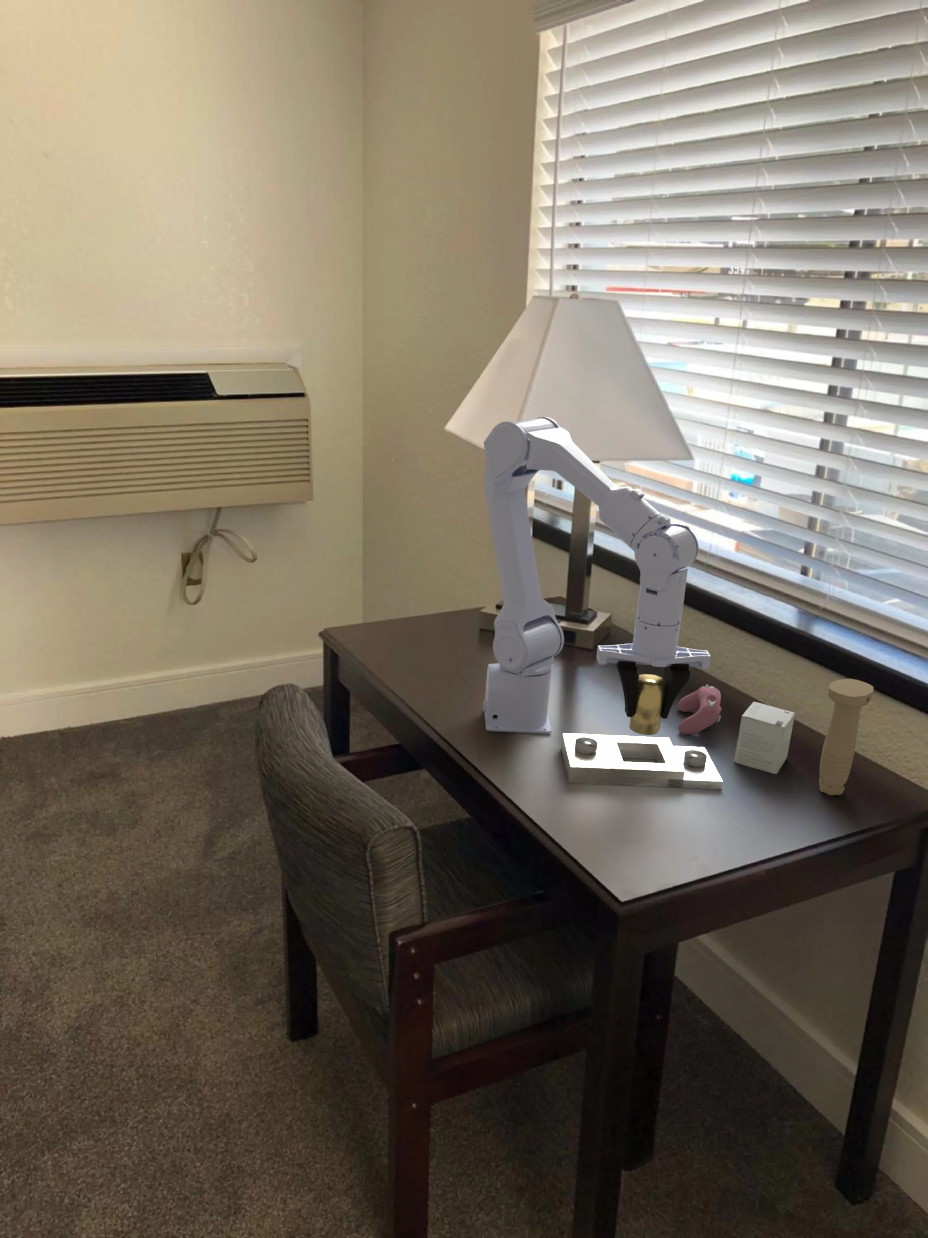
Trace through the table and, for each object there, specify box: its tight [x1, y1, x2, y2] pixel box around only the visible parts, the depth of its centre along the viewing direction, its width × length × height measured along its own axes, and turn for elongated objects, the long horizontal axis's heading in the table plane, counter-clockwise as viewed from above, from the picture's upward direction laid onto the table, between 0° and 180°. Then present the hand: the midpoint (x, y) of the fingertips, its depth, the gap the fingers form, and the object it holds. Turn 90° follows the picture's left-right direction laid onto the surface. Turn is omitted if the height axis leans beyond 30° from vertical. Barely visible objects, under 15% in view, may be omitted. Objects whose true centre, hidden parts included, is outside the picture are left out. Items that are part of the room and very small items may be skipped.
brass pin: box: [628, 673, 666, 736], centre depth 132 cm, size 4×4×7 cm
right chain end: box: [609, 745, 723, 790], centre depth 135 cm, size 15×10×2 cm, turn 91°
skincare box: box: [733, 701, 796, 775], centre depth 138 cm, size 6×6×7 cm
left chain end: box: [560, 732, 685, 785], centre depth 135 cm, size 15×10×4 cm, turn 91°
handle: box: [818, 678, 874, 796], centre depth 130 cm, size 5×6×15 cm
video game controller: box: [677, 683, 722, 736], centre depth 149 cm, size 10×5×7 cm, turn 169°
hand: (645, 714), depth 133 cm, fingers closed on brass pin, 4 cm apart
